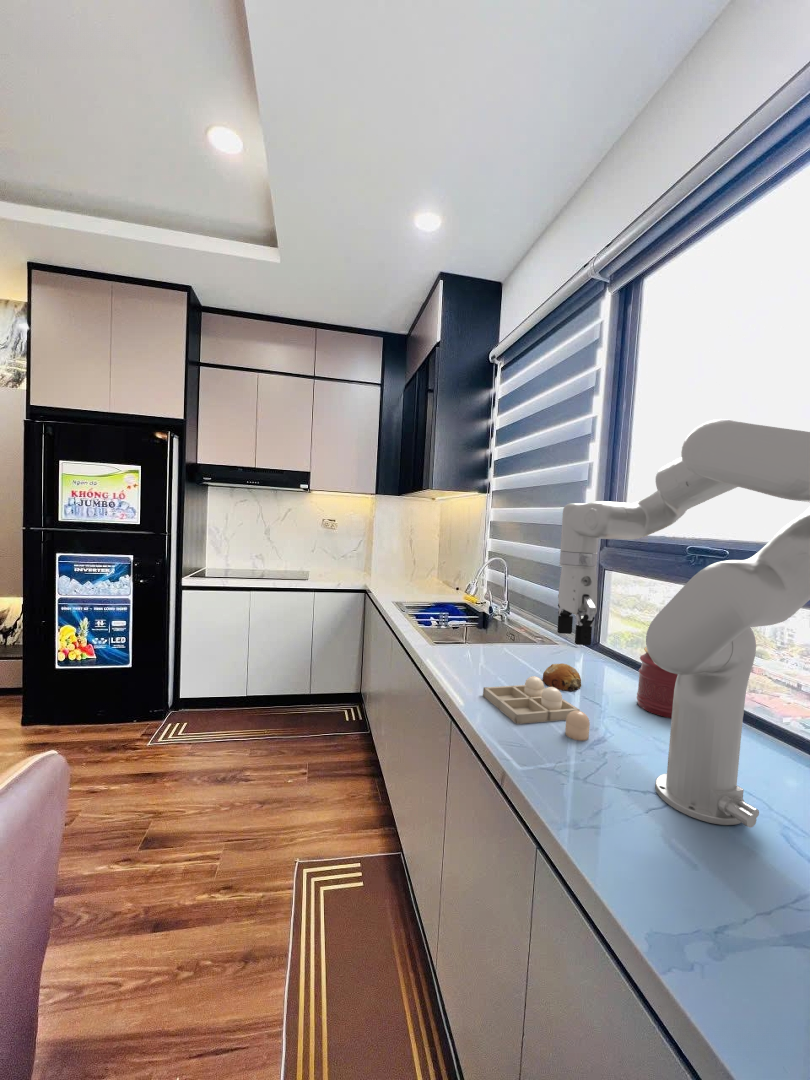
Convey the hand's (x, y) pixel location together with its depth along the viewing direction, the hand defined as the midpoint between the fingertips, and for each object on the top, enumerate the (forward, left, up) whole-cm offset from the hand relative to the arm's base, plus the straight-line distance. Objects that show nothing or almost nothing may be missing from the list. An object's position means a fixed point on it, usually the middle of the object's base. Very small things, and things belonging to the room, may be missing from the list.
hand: (573, 638), depth 100 cm
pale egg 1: (+13, 0, -19) cm, 23 cm away
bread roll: (+22, -14, -20) cm, 33 cm away
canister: (+4, -31, -20) cm, 37 cm away
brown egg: (-5, +2, -20) cm, 20 cm away
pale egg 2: (+6, 0, -19) cm, 20 cm away
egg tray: (+10, +4, -19) cm, 22 cm away
